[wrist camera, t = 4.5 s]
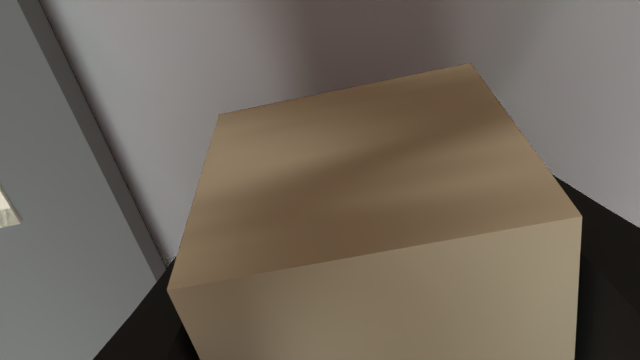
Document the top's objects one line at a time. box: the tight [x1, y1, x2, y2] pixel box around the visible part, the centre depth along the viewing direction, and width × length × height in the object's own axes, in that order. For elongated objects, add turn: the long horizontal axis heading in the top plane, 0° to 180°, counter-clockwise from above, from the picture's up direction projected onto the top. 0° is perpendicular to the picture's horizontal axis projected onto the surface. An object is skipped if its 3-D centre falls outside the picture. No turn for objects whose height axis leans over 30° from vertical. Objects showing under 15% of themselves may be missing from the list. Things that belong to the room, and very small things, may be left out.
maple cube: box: [167, 63, 582, 360], centre depth 9 cm, size 4×4×4 cm
